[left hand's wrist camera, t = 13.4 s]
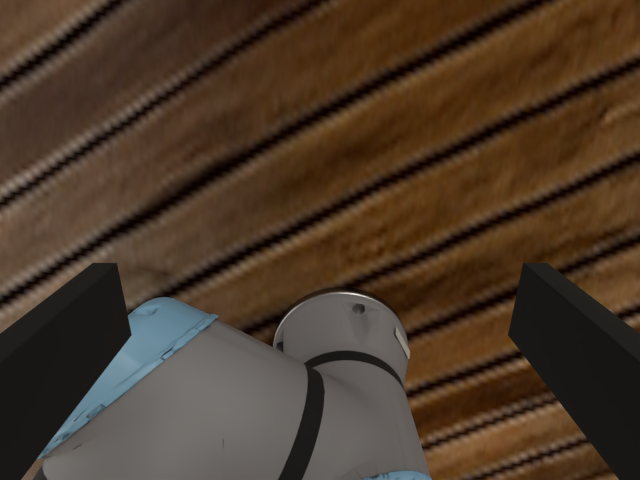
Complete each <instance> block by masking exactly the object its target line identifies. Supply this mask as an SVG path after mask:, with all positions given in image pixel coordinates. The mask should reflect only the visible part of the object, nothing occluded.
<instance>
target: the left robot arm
mask: <svg viewBox="0 0 640 480" xmlns="http://www.w3.org/2000/svg"><path fill="white" fill-rule="evenodd" d="M218 317H219V316H218V315H216V314H207V313H205V312H203V311H201V310H199V309H196V308H194V307H192V306H190V305H187V304H185V303H183V302H181V301H178V300H176V299H173V298H168V297H160V298H155V299H152V300H149V301H147V302H146V303H144V304H142V305H141V306H139V307H138V308H137V309H135V310H134V311H133V312H132V313H131V314H130V315H127V310H126V305H125V300H124V296H123V291H122V286H121V281H120V276H119V272H118V267H117V263H92V264H91V265H90V266H88V267H87V268H86V269H85V270H83V271H82V272H81V273H79V274H78V275H77V276H75V277H74V278H73V279H71V280H70V281H69V282H68V283H66V284H65V285H64V286H62V287H61V288H60V289H58V290H57V291H56V292H54V293H53V294H52V295H50V296H49V297H48V298H47V299H45V300H44V301H43V302H41V303H40V304H39V305H37V306H36V307H35V308H33V309H32V310H31V311H29V312H28V313H27V314H26V315H24V316H23V317H22V318H20V319H19V320H18V321H16V322H15V323H14V324H12V325H11V326H10V327H8V328H7V329H6V330H5V331H3V332H2V333H1V334H0V480H21V479H22V477H23V476H24V475H25V473H26V472H27V471H28V470H29V468H30V467H31V466H32V464H33V463H34V462H35V460H36V459H39V460H40V459H42V458H43V459H45V460H44V463H43V465H42V466H41V468H40V469H39V471H38V472H37V474H36V475H35V477H34V478H33V480H432V479H431V476H430V473H429V470H428V466H427V463H426V460H425V456H424V453H423V450H422V447H421V443H420V440H419V437H418V433H417V430H416V427H415V423H414V420H413V417H412V413H411V410H410V407H409V403H408V400H407V397H406V394H405V390H404V383H405V377H406V370H407V364H408V358H409V356H410V351H409V349H408V341H407V336H406V333H405V330H404V327H403V324H402V322H401V320H400V318H399V316H398V315H397V313H396V312H395V311H394V310H393V309H392V308H391V307H390V306H389V305H388V304H387V303H386V302H385V301H383V300H382V299H380V298H379V297H377V296H375V295H373V294H371V293H368V292H366V291H362V290H358V289H353V288H329V289H324V290H320V291H317V292H314V293H311V294H309V295H307V296H305V297H303V298H302V299H300V300H299V301H297V302H296V303H294V304H293V305H292V306H291V307H290V308H289V309H288V310H287V311H286V312H285V314H284V315H283V317H282V318H281V320H280V322H279V324H278V326H277V329H276V332H275V337H274V342H273V347H271V346H269V345H267V344H265V343H263V342H261V341H259V340H257V339H256V338H254V337H252V336H250V335H248V334H246V333H244V332H242V331H240V330H238V329H236V328H234V327H232V326H230V325H228V324H226V323H224V322H222V321H220V320H218V319H217V318H218ZM508 335H509V337H510V338H511V339H512V341H513V342H514V343H515V345H516V346H517V347H518V348H519V350H520V351H521V352H522V354H523V355H524V356H525V358H526V359H527V360H528V362H529V363H530V364H531V365H532V367H533V368H534V369H535V371H536V372H537V373H538V375H539V376H540V377H541V378H542V380H543V381H544V382H545V384H546V385H547V386H548V388H549V389H550V390H551V391H552V393H553V394H554V395H555V397H556V398H557V399H558V401H559V402H560V403H561V404H562V406H563V407H564V408H565V410H566V411H567V412H568V414H569V415H570V416H571V418H572V419H573V420H574V421H575V423H576V424H577V425H578V427H579V428H580V429H581V431H582V432H583V433H584V434H585V436H586V437H587V438H588V440H589V441H590V442H591V444H592V445H593V446H594V447H595V449H596V450H597V451H598V453H599V454H600V455H601V457H602V458H603V459H604V460H605V462H606V463H607V464H608V466H609V467H610V468H611V470H612V471H613V472H614V473H615V475H616V476H617V477H618V479H619V480H640V334H639V333H638V332H637V331H635V330H634V329H633V328H632V327H630V326H629V325H628V324H626V323H625V322H624V321H622V320H621V319H620V318H618V317H617V316H616V315H614V314H613V313H612V312H611V311H609V310H608V309H607V308H605V307H604V306H603V305H601V304H600V303H599V302H597V301H596V300H595V299H593V298H592V297H591V296H590V295H588V294H587V293H586V292H584V291H583V290H582V289H580V288H579V287H578V286H576V285H575V284H574V283H572V282H571V281H570V280H569V279H567V278H566V277H565V276H563V275H562V274H561V273H559V272H558V271H557V270H555V269H554V268H553V267H552V266H550V265H549V264H548V263H523V267H522V272H521V276H520V281H519V286H518V291H517V296H516V300H515V305H514V310H513V315H512V319H511V324H510V329H509V334H508Z"/></svg>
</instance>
